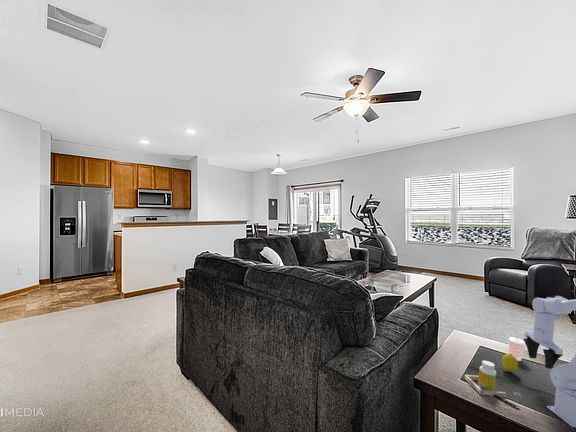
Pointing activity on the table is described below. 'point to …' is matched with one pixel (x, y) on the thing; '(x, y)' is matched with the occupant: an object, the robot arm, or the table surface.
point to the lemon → (509, 362)
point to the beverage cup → (516, 347)
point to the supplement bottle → (487, 376)
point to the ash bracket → (482, 392)
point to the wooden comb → (502, 399)
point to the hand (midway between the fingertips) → (540, 362)
